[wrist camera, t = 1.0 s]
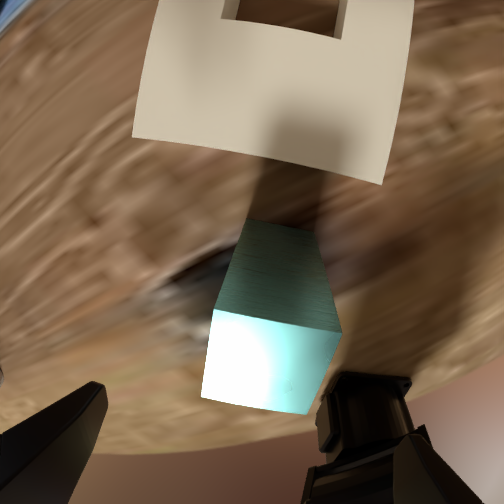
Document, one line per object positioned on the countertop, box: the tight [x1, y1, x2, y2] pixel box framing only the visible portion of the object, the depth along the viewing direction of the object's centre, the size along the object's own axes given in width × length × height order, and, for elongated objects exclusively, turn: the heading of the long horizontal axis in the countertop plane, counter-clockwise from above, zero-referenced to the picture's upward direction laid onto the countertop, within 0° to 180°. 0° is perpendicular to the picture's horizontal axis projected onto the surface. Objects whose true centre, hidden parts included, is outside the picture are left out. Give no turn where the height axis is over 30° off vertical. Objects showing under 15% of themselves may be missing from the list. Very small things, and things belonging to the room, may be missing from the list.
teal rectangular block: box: [202, 218, 342, 415], centre depth 15 cm, size 4×4×10 cm
